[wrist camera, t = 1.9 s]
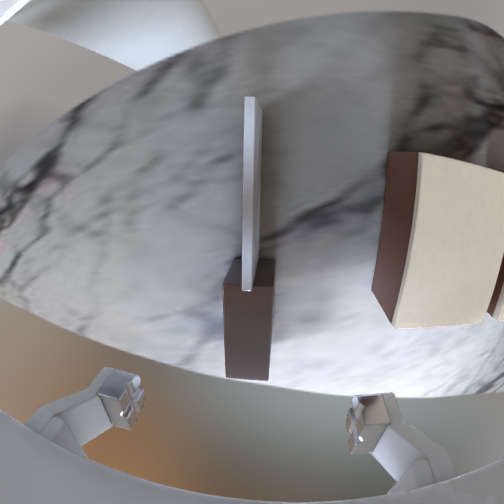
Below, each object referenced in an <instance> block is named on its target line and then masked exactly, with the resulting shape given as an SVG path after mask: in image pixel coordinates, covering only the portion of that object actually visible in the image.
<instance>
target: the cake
mask: <svg viewBox="0 0 504 504" xmlns="http://www.w3.org/2000/svg"><path fill="white" fill-rule="evenodd" d="M503 253H504V172H501V171H498V170H494V169H491V168H487V167H484V166H480V165H476V164H473V163H469V162H465V161H461V160H457V159H452V158H448V157H443V156H439V155H434V154H429V153H424V152H388V161H387V177H386V190H385V201H384V210H383V219H382V227H381V235H380V242H379V249H378V255H377V262H376V268H375V273H374V279H373V284H372V289H371V290H372V292H373V293H374V295H375V297H376V298H377V300H378V302H379V304H380V305H381V307H382V309H383V311H384V312H385V314H386V316H387V318H388V319H389V321H390V323H391V325H392V326H393V328H394V329H396V328H424V327H443V326H457V325H470V324H481V323H483V320H484V318H485V315H486V312H487V309H488V306H489V303H490V300H491V297H492V294H493V291H494V287H495V284H496V281H497V277H498V273H499V270H500V266H501V262H502V258H503Z"/></svg>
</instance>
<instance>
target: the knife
mask: <svg viewBox="0 0 504 504" xmlns="http://www.w3.org/2000/svg"><path fill="white" fill-rule="evenodd" d="M261 157H262V110H261V108H260V106H259V103H258V101H257V99H256V97H255V96H245V98H244V146H243V209H242V259H240V258H234V260H233V262H232V264H231V267H230V269H229V271H228V273H227V275H226V278H225V280H224V282H223V316H224V345H225V369H226V378H234V379H244V380H257V381H268V378H269V366H270V353H271V339H272V324H273V309H274V292H275V274H276V260H259V235H260V198H261Z"/></svg>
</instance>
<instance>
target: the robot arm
mask: <svg viewBox="0 0 504 504" xmlns="http://www.w3.org/2000/svg"><path fill="white" fill-rule="evenodd" d="M140 383H141V380H140V377H139V376H138V375H135V374H131V373H128V372H123V371H120V370H117V369H112V368H109V367H104V368H103V369H102V370H101V371H100V372H99V374H98V375H97V376H96V377H95V379H94V380H93V381H92V382H91V384H90V385H89V386H88V388H87V389H86V390H80V391H78V392H75V393H73V394H71V395H68V396H66V397H63V398H61V399H58V400H56V401H53V402H51V403H48V404H45V405H43V406H40V407H39V408H38V409H37V410H36V411H35V413H34V414H33V415H32V416H31V417H30V419H29V420H28V421H27V422H26V424H25V425H23V424H22V423H20V422H19V421H17V420H16V419H14V418H13V417H11V416H10V415H8V414H7V413H5V412H4V411H2V410H1V409H0V504H504V457H503V458H501V459H499V460H497V461H495V462H493V463H490V464H488V465H486V466H483V467H481V468H478V469H476V470H473V471H471V472H468V473H465V474H462V475H460V476H457V473H456V471H455V468H454V465H453V463H452V460H451V457H450V454H449V452H448V451H447V450H445V449H444V448H442V447H441V446H439V445H438V444H437V443H435V442H434V441H433V440H431V439H430V438H428V437H427V436H426V435H424V434H423V433H422V432H420V431H419V430H418V429H416V428H415V427H414V426H412V425H411V424H410V423H408V422H406V423H405V422H404V420H403V417H402V414H401V411H400V408H399V406H398V403H397V400H396V398H395V395H394V393H392V392H391V393H380V394H365V395H355V396H354V397H353V400H352V406H353V407H352V408H351V409H349V412H348V414H347V420H346V427H347V432H348V433H349V434H350V435H351V436H350V439H349V447H350V454H364V453H372V455H373V456H374V457H375V458H376V459H377V460H378V462H380V464H381V465H382V466H383V467H384V468H385V469H386V470H387V471H388V472H389V473H390V475H391V476H392V477H393V478H394V479H395V480H396V481H397V483H396V484H395V485H394V486H393V487H392V488H391V489H390V491H389V492H388V493H387V495H381V496H374V497H368V498H360V499H351V500H341V501H325V502H271V501H256V500H245V499H235V498H228V497H221V496H214V495H208V494H202V493H197V492H193V491H188V490H183V489H179V488H175V487H171V486H167V485H163V484H159V483H155V482H152V481H148V480H145V479H142V478H139V477H135V476H132V475H129V474H127V473H124V472H121V471H118V470H115V469H113V468H110V467H107V466H105V465H102V464H100V463H97V462H95V461H93V460H90V459H88V458H87V455H86V453H85V452H84V450H83V449H82V447H81V446H82V445H83V444H85V443H87V442H88V441H90V440H92V439H93V438H95V437H96V436H98V435H100V434H101V433H102V432H104V431H106V430H107V429H109V428H110V427H112V425H114V426H118V427H121V428H124V429H128V430H131V429H132V427H133V425H134V423H135V422H136V420H137V417H136V414H137V413H139V412H140V411H141V410H142V408H143V406H144V401H145V394H144V390H143V389H142V388H141V387H140V386H139V385H140Z"/></svg>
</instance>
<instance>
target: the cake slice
mask: <svg viewBox="0 0 504 504" xmlns="http://www.w3.org/2000/svg"><path fill="white" fill-rule="evenodd" d="M487 312H488V313H489V314H490V315H491V316H492V317H493V318H494V319H495V320H496V321H497V322H499V321H504V253H503V258H502V262H501V266H500V270H499V273H498V277H497V281H496V284H495V287H494V291H493V294H492V297H491V300H490V303H489V306H488V309H487Z"/></svg>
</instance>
